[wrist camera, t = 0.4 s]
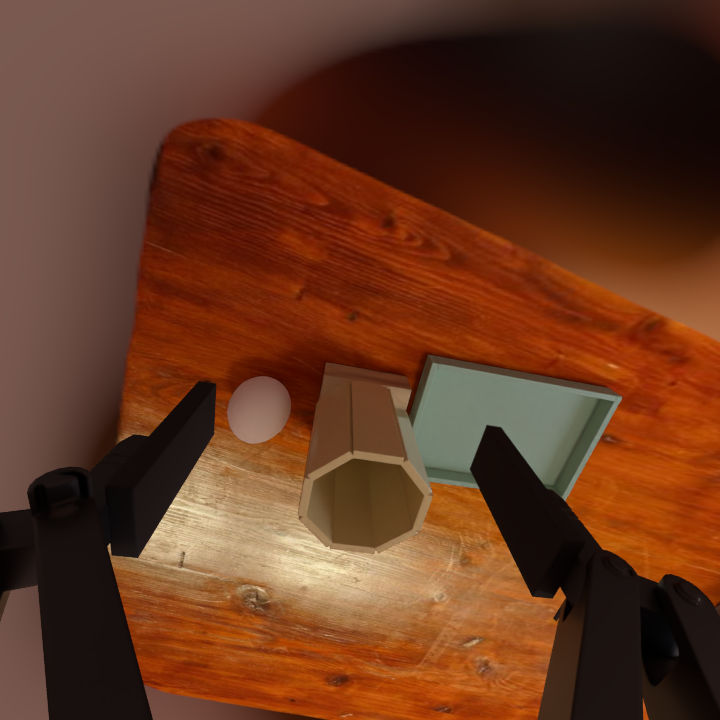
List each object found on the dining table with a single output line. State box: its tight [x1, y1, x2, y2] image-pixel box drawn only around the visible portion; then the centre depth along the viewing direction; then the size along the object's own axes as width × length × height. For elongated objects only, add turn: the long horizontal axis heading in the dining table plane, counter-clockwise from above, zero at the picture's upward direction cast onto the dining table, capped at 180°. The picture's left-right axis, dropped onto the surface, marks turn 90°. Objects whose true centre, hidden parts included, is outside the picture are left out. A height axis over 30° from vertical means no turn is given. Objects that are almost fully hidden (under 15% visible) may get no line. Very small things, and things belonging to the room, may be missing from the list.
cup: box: [298, 381, 433, 554], centre depth 27 cm, size 8×8×10 cm
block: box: [319, 362, 412, 411], centre depth 33 cm, size 8×8×3 cm
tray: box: [409, 355, 622, 500], centre depth 36 cm, size 19×13×2 cm
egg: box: [227, 376, 291, 443], centre depth 30 cm, size 5×5×7 cm
